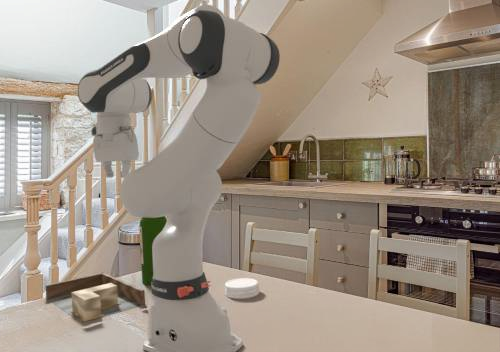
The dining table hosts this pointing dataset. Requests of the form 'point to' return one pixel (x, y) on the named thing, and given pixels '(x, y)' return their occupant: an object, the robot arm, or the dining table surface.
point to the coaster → (242, 288)
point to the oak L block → (94, 300)
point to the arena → (62, 290)
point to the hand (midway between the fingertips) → (117, 177)
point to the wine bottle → (149, 244)
